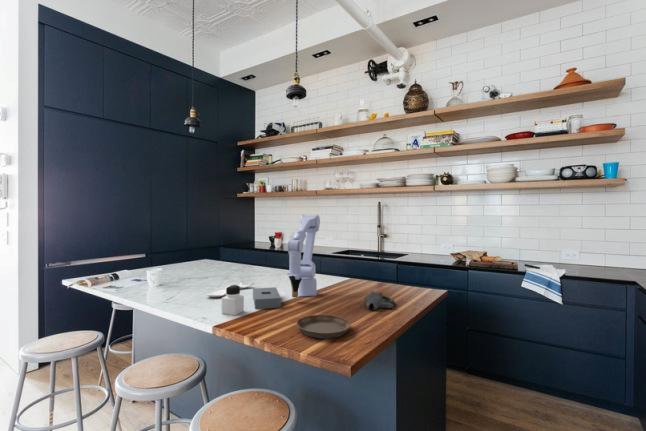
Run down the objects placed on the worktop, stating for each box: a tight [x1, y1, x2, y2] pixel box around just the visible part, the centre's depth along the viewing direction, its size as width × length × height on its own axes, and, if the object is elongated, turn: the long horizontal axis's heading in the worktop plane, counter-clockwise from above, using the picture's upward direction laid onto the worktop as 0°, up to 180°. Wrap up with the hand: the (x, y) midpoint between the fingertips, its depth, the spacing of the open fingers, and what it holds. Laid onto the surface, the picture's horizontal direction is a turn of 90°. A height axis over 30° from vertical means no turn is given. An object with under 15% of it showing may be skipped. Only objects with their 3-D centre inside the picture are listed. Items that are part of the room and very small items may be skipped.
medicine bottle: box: [221, 284, 245, 316], centre depth 152 cm, size 7×7×12 cm
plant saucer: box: [296, 314, 351, 339], centre depth 131 cm, size 21×21×3 cm
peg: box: [291, 286, 299, 298], centre depth 170 cm, size 3×3×9 cm
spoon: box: [206, 280, 255, 298], centre depth 189 cm, size 9×32×4 cm, turn 154°
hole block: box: [252, 287, 282, 310], centre depth 170 cm, size 12×22×4 cm, turn 14°
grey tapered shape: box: [363, 290, 397, 311], centre depth 167 cm, size 5×25×15 cm
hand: (295, 290), depth 170 cm, fingers closed on peg, 3 cm apart
